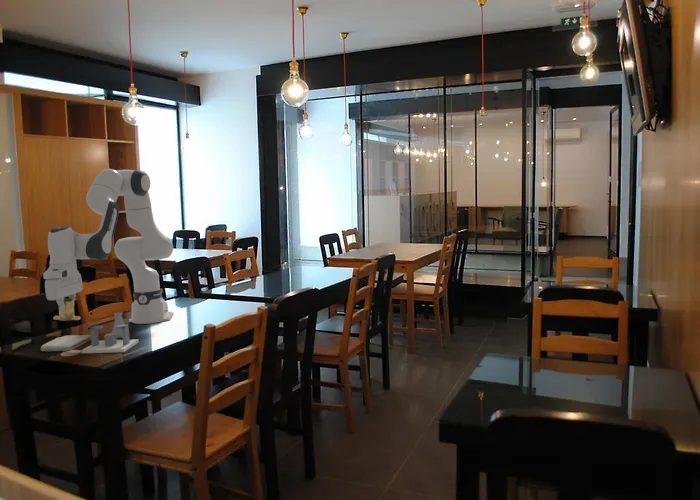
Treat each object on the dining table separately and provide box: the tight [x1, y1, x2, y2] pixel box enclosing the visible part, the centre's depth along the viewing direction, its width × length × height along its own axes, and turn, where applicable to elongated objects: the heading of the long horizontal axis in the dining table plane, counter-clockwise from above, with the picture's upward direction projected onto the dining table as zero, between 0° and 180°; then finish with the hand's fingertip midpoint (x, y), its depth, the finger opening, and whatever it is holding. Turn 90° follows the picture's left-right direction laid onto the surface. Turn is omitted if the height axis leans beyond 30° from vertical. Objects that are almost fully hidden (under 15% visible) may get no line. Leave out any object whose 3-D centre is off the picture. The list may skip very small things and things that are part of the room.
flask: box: [111, 311, 131, 339], centre depth 243 cm, size 7×7×10 cm
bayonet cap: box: [53, 298, 81, 322], centre depth 217 cm, size 5×9×8 cm, turn 84°
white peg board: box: [81, 324, 140, 354], centre depth 225 cm, size 14×16×8 cm
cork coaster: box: [60, 349, 83, 357], centre depth 219 cm, size 7×7×1 cm
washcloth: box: [40, 334, 91, 352], centre depth 232 cm, size 12×18×3 cm, turn 178°
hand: (67, 308), depth 217 cm, fingers closed on bayonet cap, 5 cm apart
